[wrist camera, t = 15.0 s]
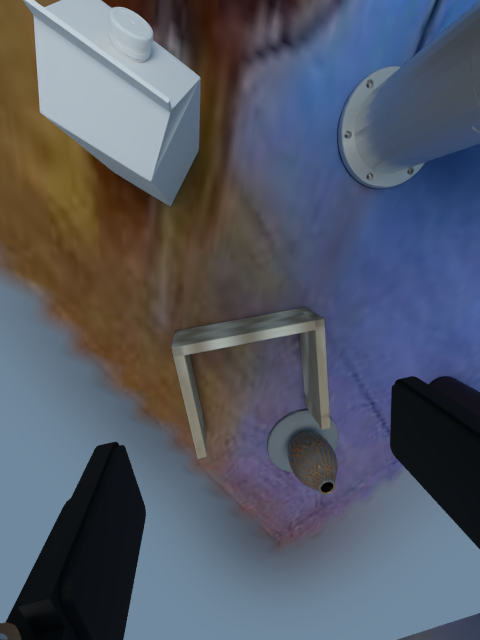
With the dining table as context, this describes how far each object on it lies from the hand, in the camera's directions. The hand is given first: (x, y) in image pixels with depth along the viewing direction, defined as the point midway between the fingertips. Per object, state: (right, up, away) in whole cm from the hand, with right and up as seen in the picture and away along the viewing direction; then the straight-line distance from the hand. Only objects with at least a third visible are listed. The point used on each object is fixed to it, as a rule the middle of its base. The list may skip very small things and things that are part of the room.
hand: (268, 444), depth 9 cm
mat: (+9, -16, +36) cm, 40 cm away
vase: (+9, -16, +35) cm, 40 cm away
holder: (0, -3, +31) cm, 31 cm away
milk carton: (-10, +22, +22) cm, 33 cm away
